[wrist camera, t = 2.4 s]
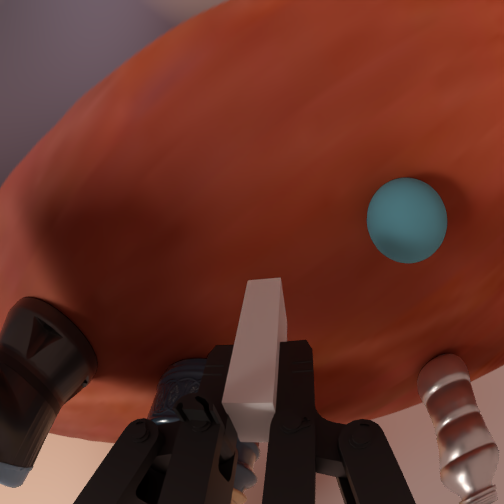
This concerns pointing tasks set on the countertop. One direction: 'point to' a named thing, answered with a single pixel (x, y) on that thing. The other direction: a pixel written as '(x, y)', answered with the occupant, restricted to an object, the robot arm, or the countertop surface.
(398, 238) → the ball
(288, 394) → the robot arm
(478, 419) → the plastic bottle
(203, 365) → the canister
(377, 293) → the countertop surface
